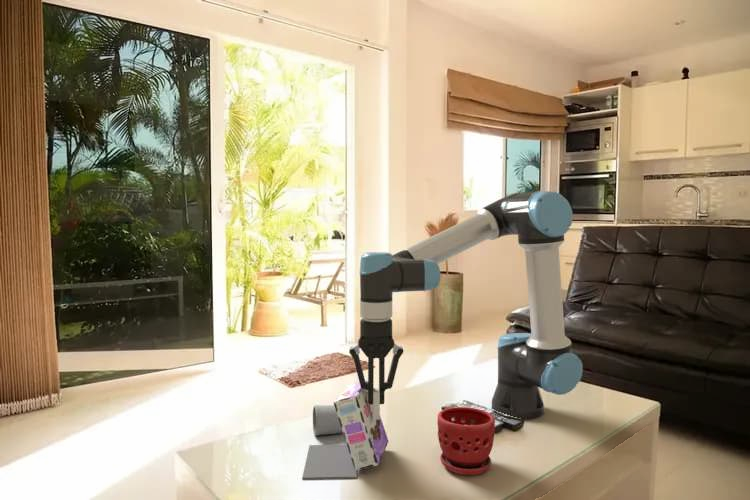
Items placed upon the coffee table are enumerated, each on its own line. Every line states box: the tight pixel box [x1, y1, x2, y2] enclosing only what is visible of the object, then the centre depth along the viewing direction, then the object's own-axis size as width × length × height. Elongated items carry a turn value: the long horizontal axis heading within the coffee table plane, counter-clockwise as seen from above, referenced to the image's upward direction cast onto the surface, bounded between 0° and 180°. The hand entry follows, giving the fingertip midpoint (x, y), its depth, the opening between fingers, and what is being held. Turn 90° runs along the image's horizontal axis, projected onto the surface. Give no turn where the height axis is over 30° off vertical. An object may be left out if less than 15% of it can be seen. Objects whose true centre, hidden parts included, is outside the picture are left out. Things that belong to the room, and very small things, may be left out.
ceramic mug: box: [312, 404, 343, 436], centre depth 136 cm, size 11×8×8 cm
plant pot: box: [437, 406, 496, 476], centre depth 117 cm, size 13×13×12 cm
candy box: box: [333, 379, 389, 471], centre depth 120 cm, size 14×6×16 cm, turn 168°
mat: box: [301, 443, 358, 480], centre depth 119 cm, size 12×16×1 cm
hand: (376, 417), depth 119 cm, fingers closed
